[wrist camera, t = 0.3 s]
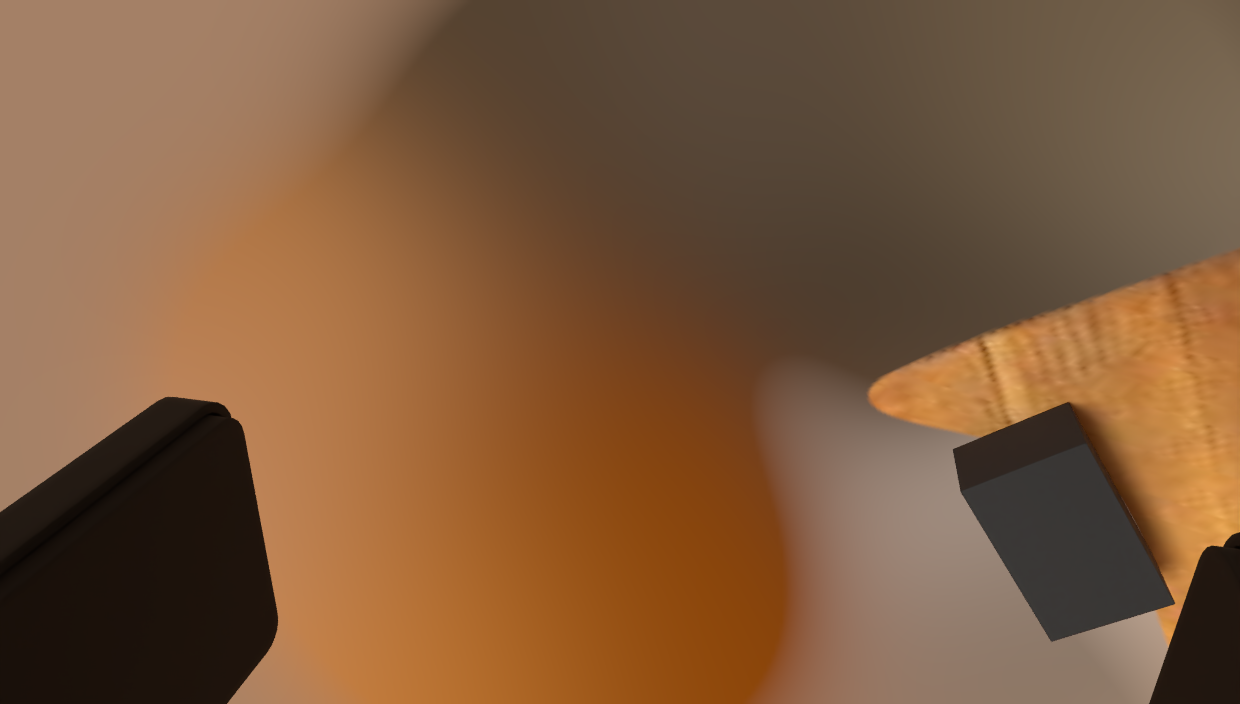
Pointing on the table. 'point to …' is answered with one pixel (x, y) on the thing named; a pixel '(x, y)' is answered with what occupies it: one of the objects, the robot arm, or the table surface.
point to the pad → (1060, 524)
